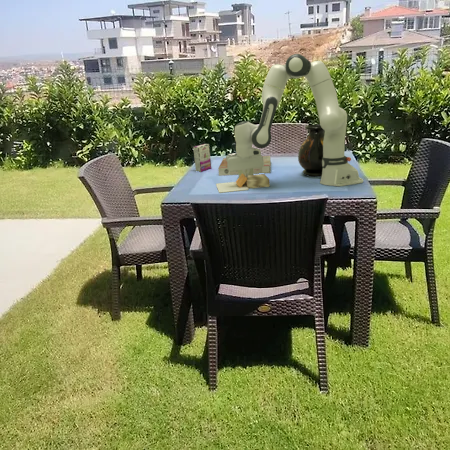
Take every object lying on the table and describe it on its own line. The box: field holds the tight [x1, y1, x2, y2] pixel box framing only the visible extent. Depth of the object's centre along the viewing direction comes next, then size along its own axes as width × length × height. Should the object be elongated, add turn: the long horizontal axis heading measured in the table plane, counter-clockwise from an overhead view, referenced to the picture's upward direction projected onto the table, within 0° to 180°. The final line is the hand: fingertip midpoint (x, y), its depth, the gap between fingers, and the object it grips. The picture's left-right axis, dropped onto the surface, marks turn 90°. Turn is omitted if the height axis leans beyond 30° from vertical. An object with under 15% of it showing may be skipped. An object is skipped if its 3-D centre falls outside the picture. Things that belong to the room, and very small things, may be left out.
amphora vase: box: [297, 123, 325, 178], centre depth 256 cm, size 22×22×28 cm
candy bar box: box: [193, 143, 212, 173], centre depth 292 cm, size 11×5×16 cm, turn 143°
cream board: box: [215, 181, 250, 194], centre depth 246 cm, size 16×20×1 cm
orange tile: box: [235, 174, 247, 188], centre depth 245 cm, size 6×9×2 cm
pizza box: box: [217, 155, 272, 177], centre depth 288 cm, size 32×5×32 cm
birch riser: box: [245, 173, 271, 190], centre depth 246 cm, size 12×14×4 cm
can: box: [238, 168, 255, 178], centre depth 262 cm, size 9×9×12 cm
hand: (246, 176), depth 245 cm, fingers closed, pressing on orange tile
